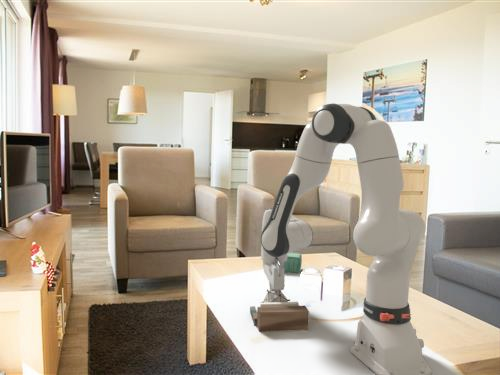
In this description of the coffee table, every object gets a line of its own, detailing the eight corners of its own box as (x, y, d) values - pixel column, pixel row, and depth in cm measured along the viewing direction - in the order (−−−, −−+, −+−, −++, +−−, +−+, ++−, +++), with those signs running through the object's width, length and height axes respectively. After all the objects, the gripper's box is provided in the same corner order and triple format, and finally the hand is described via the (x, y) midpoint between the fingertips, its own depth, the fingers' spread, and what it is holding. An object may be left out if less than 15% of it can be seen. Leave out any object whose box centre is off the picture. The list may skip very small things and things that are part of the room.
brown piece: (310, 329, 140) (311, 310, 139) (256, 331, 138) (256, 312, 137) (299, 310, 155) (299, 293, 154) (250, 312, 153) (250, 294, 152)
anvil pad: (298, 318, 146) (298, 303, 146) (260, 319, 145) (261, 304, 144) (296, 315, 149) (297, 300, 148) (259, 317, 147) (260, 301, 146)
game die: (278, 325, 152) (290, 311, 145) (255, 314, 152) (265, 300, 145) (284, 302, 158) (295, 288, 151) (262, 292, 158) (272, 277, 151)
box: (300, 274, 196) (300, 256, 195) (268, 271, 198) (268, 254, 198) (301, 269, 203) (302, 252, 202) (271, 267, 206) (271, 250, 205)
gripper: (290, 263, 145) (288, 305, 147) (278, 246, 166) (276, 284, 167) (270, 263, 145) (268, 305, 146) (260, 246, 165) (259, 284, 166)
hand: (272, 294), depth 157 cm, fingers closed
